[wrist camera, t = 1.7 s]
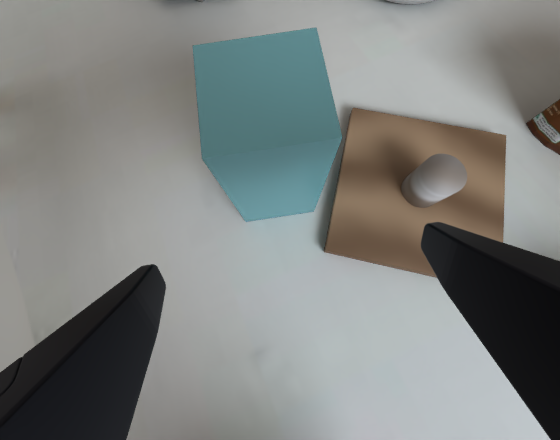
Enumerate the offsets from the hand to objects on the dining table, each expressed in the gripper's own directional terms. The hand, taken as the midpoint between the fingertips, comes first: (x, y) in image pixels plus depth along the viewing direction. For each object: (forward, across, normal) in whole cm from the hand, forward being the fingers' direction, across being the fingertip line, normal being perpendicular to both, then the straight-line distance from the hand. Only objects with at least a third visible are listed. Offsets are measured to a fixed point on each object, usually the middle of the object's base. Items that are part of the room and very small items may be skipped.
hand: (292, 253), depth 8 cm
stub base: (+13, -12, +6) cm, 19 cm away
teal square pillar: (+15, 0, +4) cm, 16 cm away
